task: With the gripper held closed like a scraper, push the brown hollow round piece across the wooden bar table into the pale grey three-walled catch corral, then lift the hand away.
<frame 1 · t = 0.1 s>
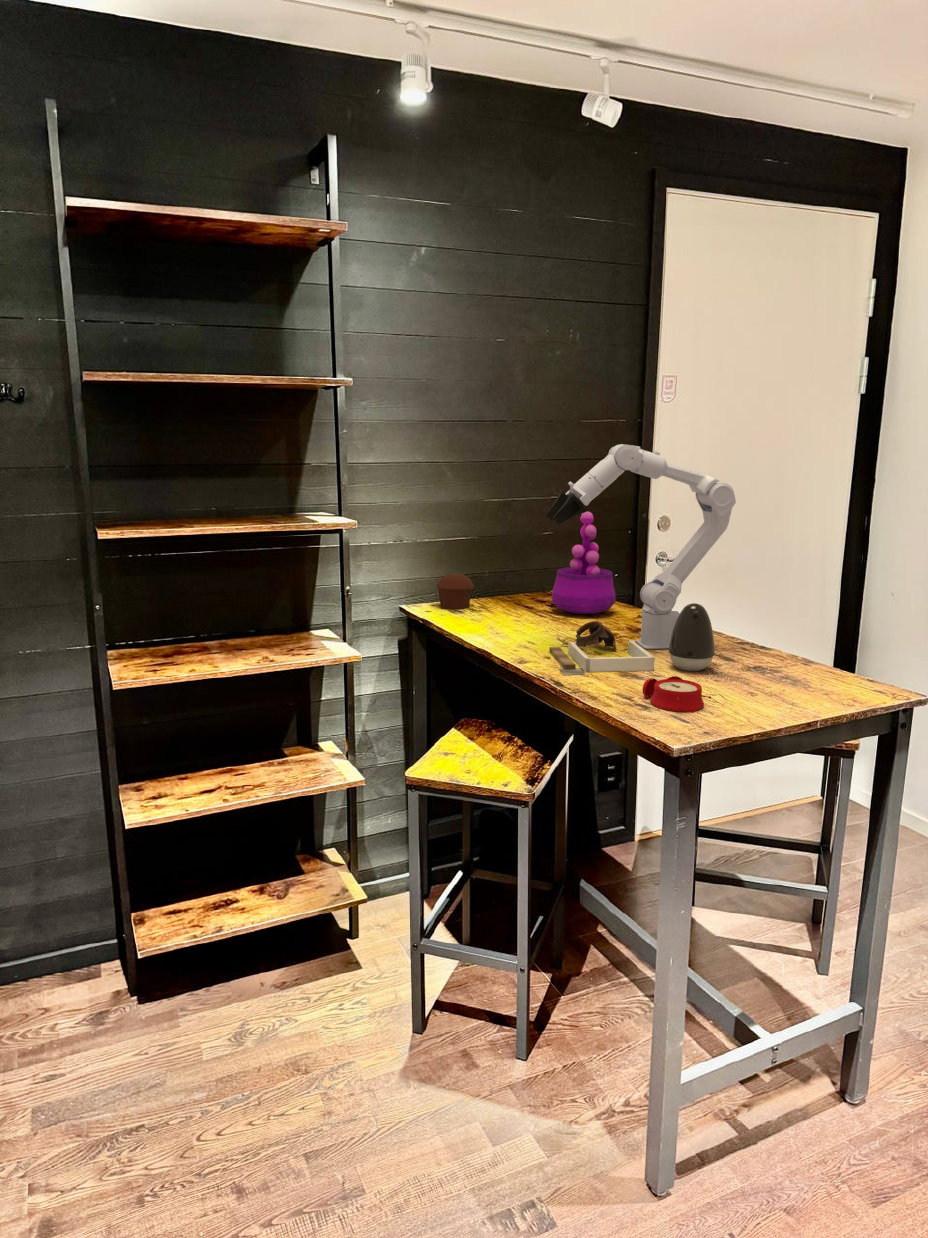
hand: (551, 519, 205), 32 cm above the table, tool tilted 50°, fingers open, 7 cm apart
alarm clock: (671, 703, 172), on the table
walnut scraper: (561, 661, 201), on the table
catch corral: (609, 661, 200), on the table
decorative plant: (582, 613, 253), on the table
black egg shaped dome: (690, 669, 196), on the table
muffin: (455, 607, 259), on the table
brown hollow round piece: (596, 650, 212), on the table
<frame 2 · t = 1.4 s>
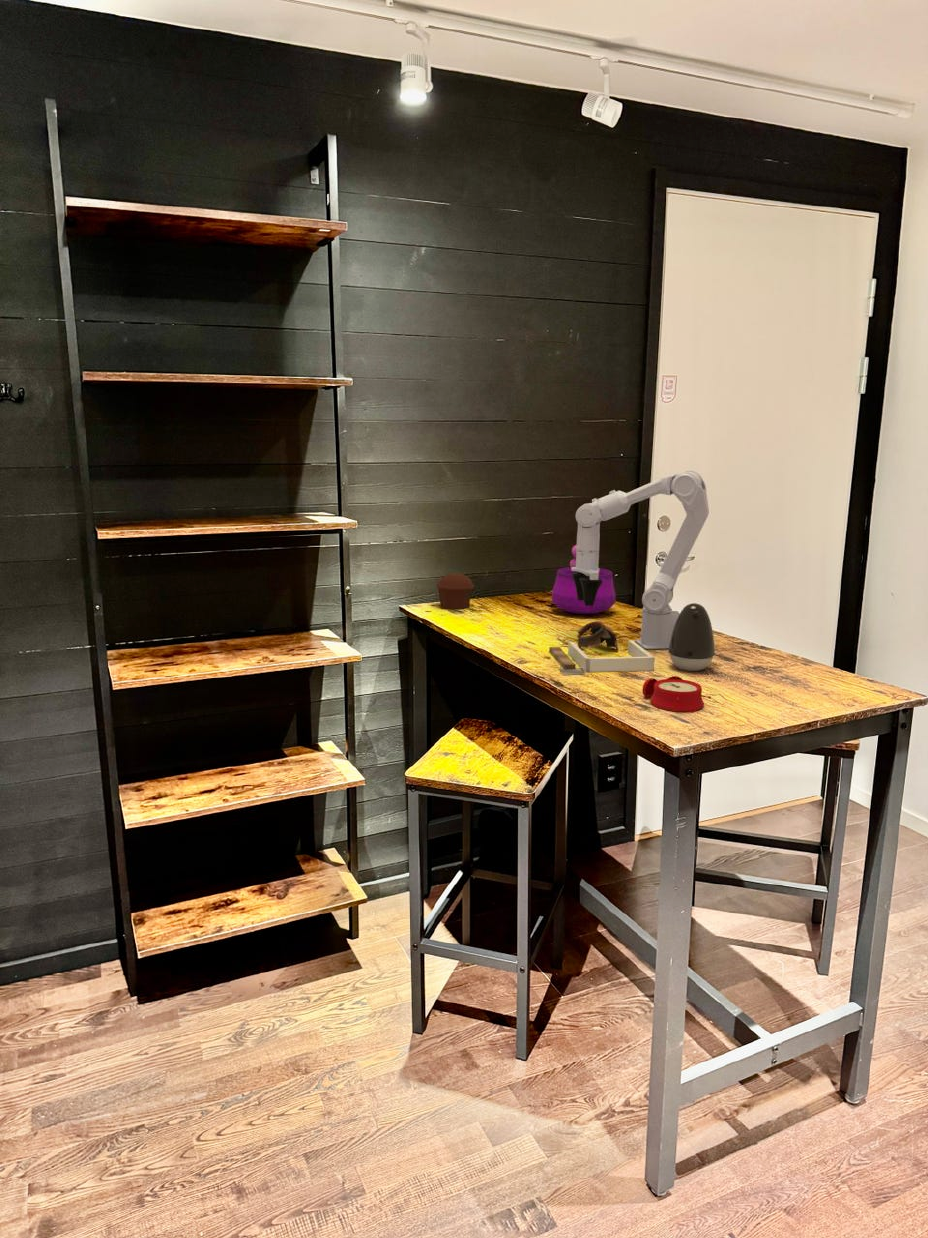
hand: (585, 602, 220), 9 cm above the table, tool pointing down, fingers open, 6 cm apart
nothing on the table moved.
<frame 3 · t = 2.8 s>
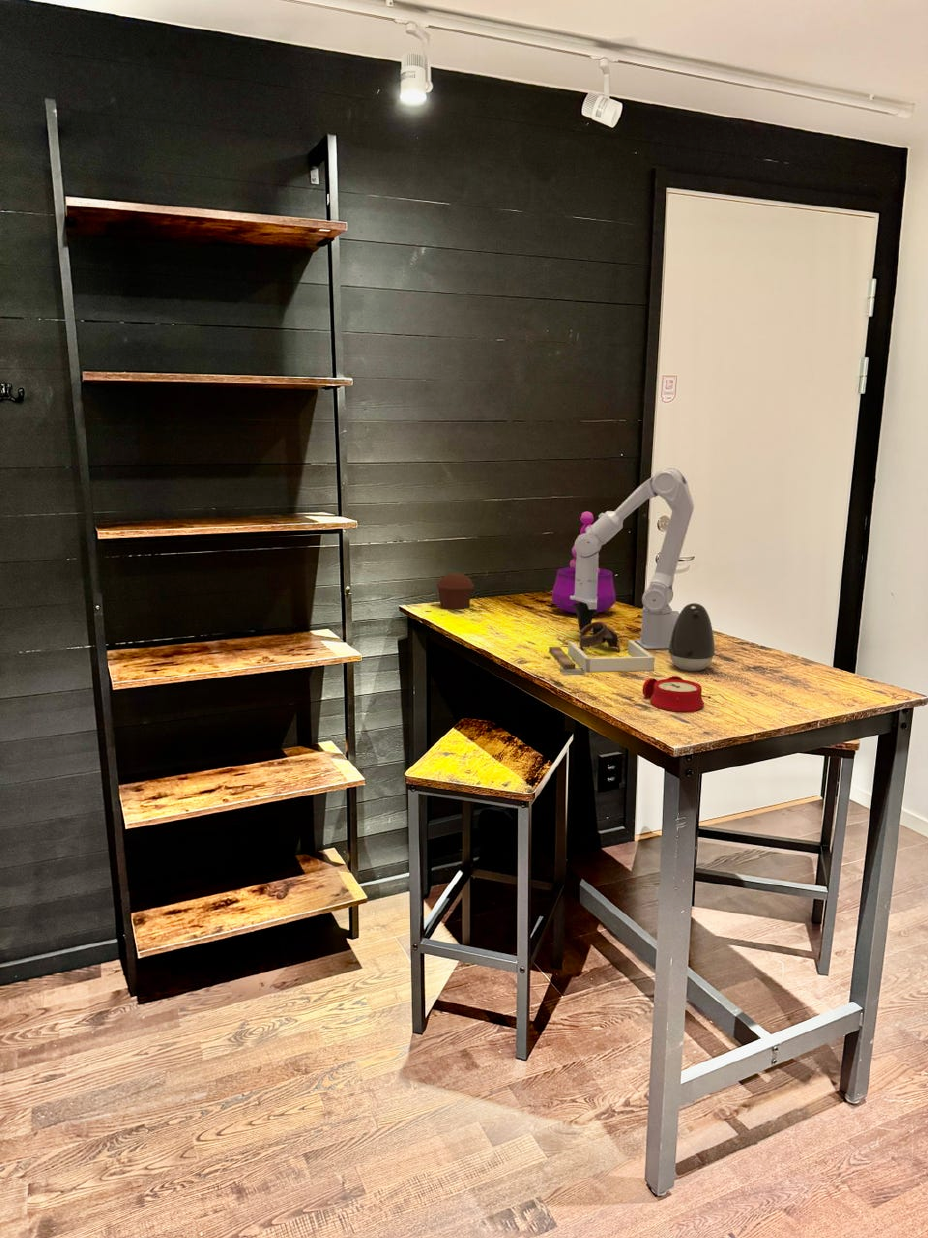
hand: (584, 631, 222), 2 cm above the table, tool pointing down, fingers closed
nothing on the table moved.
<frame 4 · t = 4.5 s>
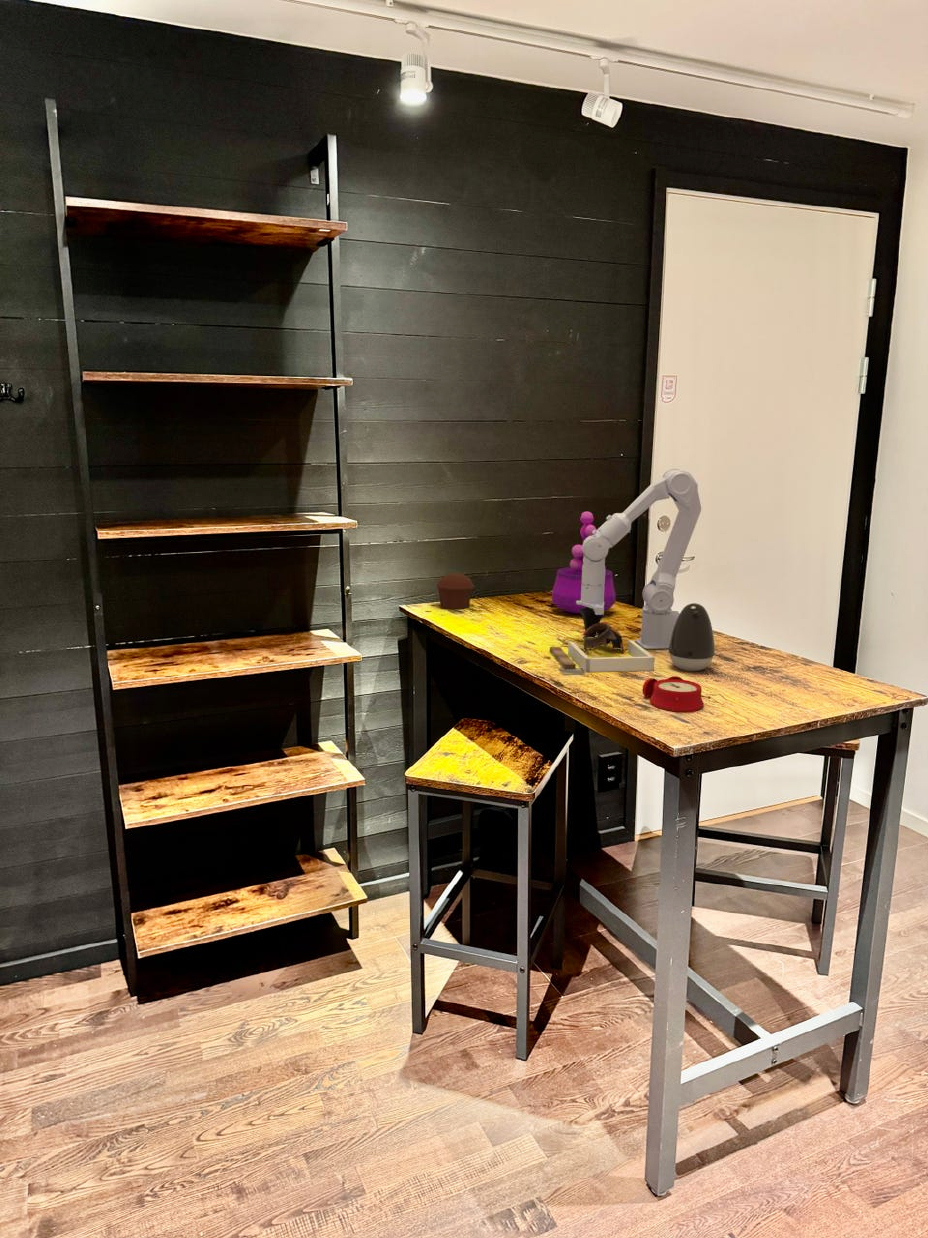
hand: (590, 636, 216), 2 cm above the table, tool pointing down, fingers closed
brown hollow round piece: (603, 651, 210), on the table, touching gripper
everything else where it was.
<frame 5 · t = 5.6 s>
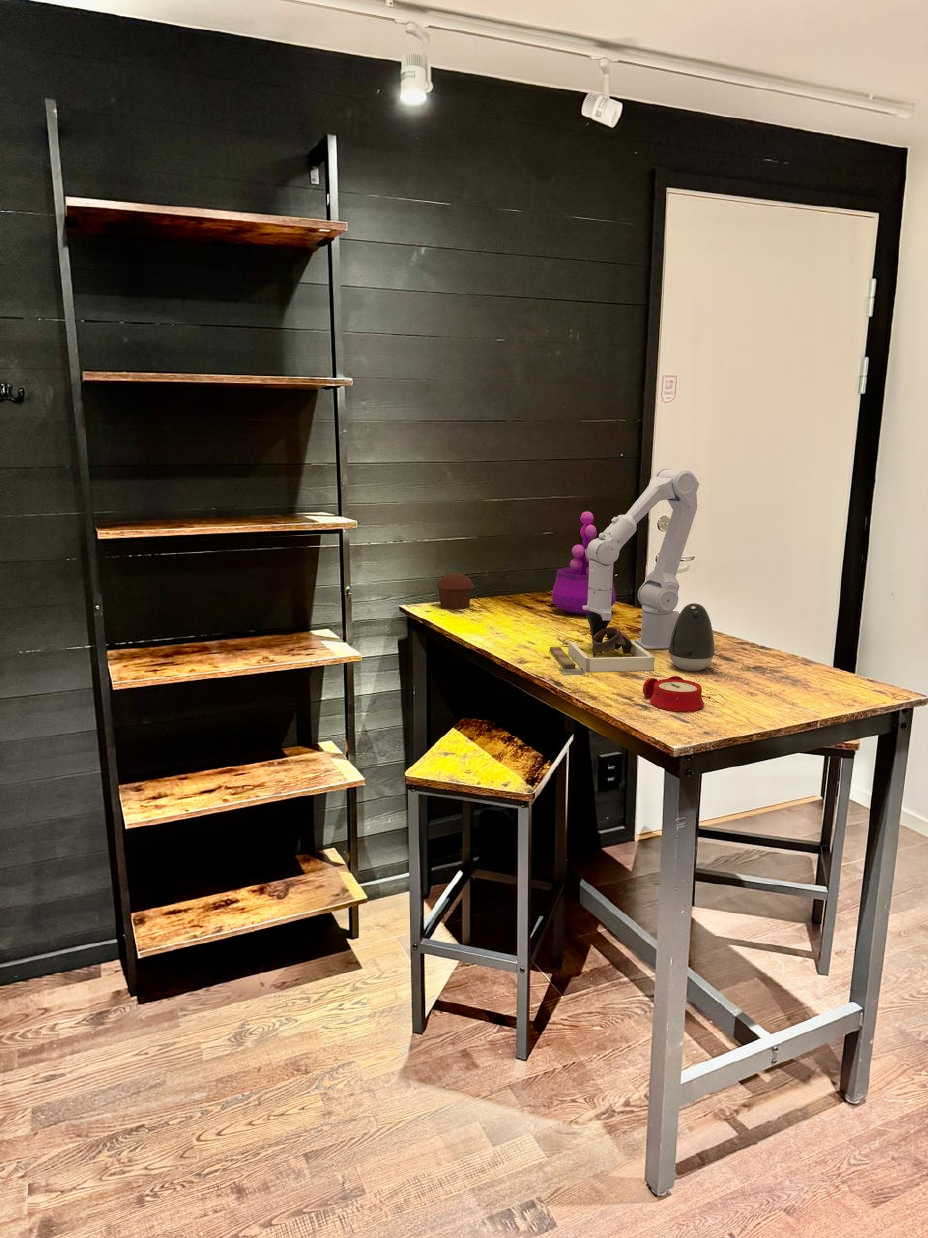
hand: (597, 642, 210), 2 cm above the table, tool pointing down, fingers closed
brown hollow round piece: (613, 656, 205), on the table, touching gripper
everything else where it was.
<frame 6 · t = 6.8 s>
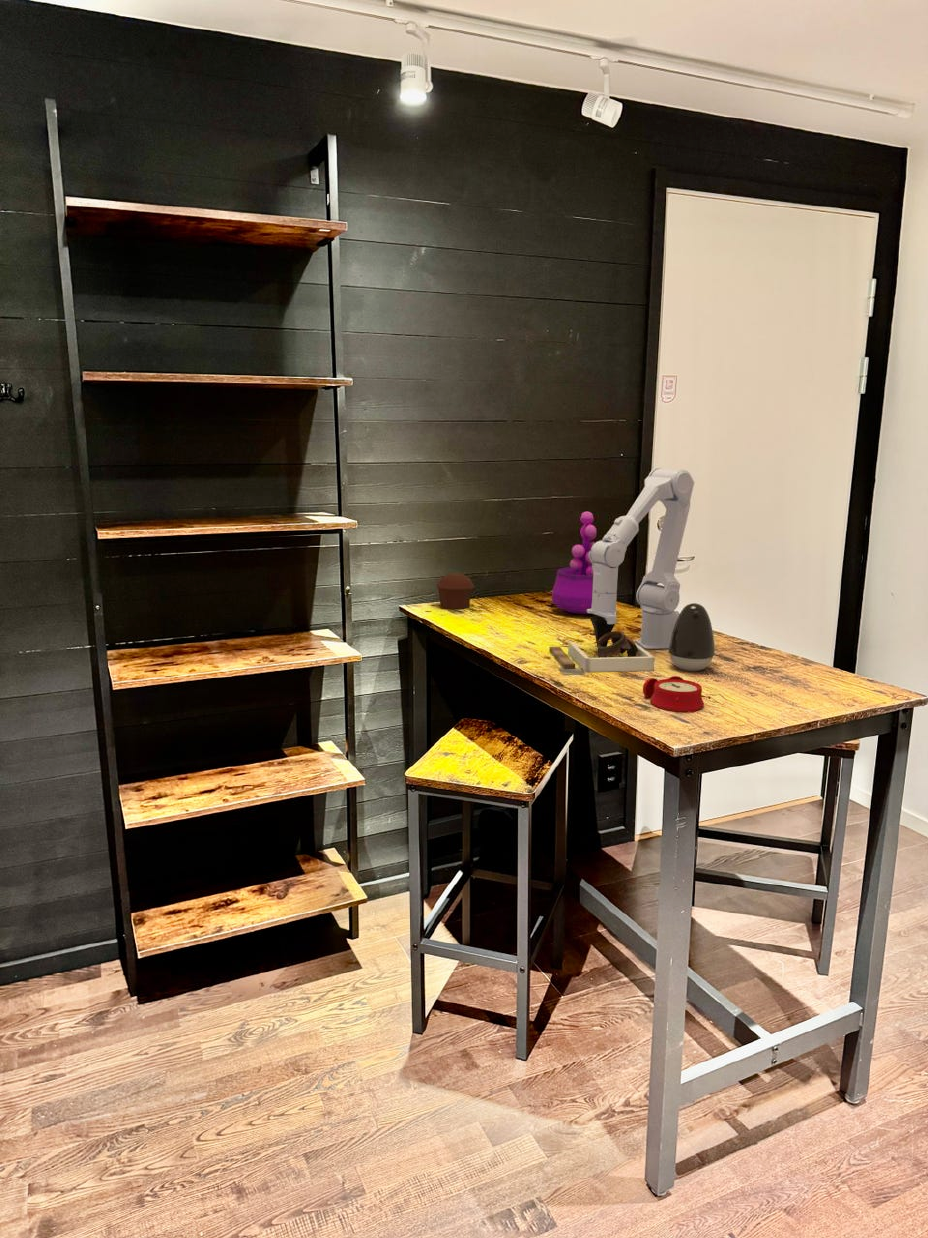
hand: (601, 646, 206), 2 cm above the table, tool pointing down, fingers closed
brown hollow round piece: (618, 661, 201), on the table, touching catch corral, gripper
everything else where it was.
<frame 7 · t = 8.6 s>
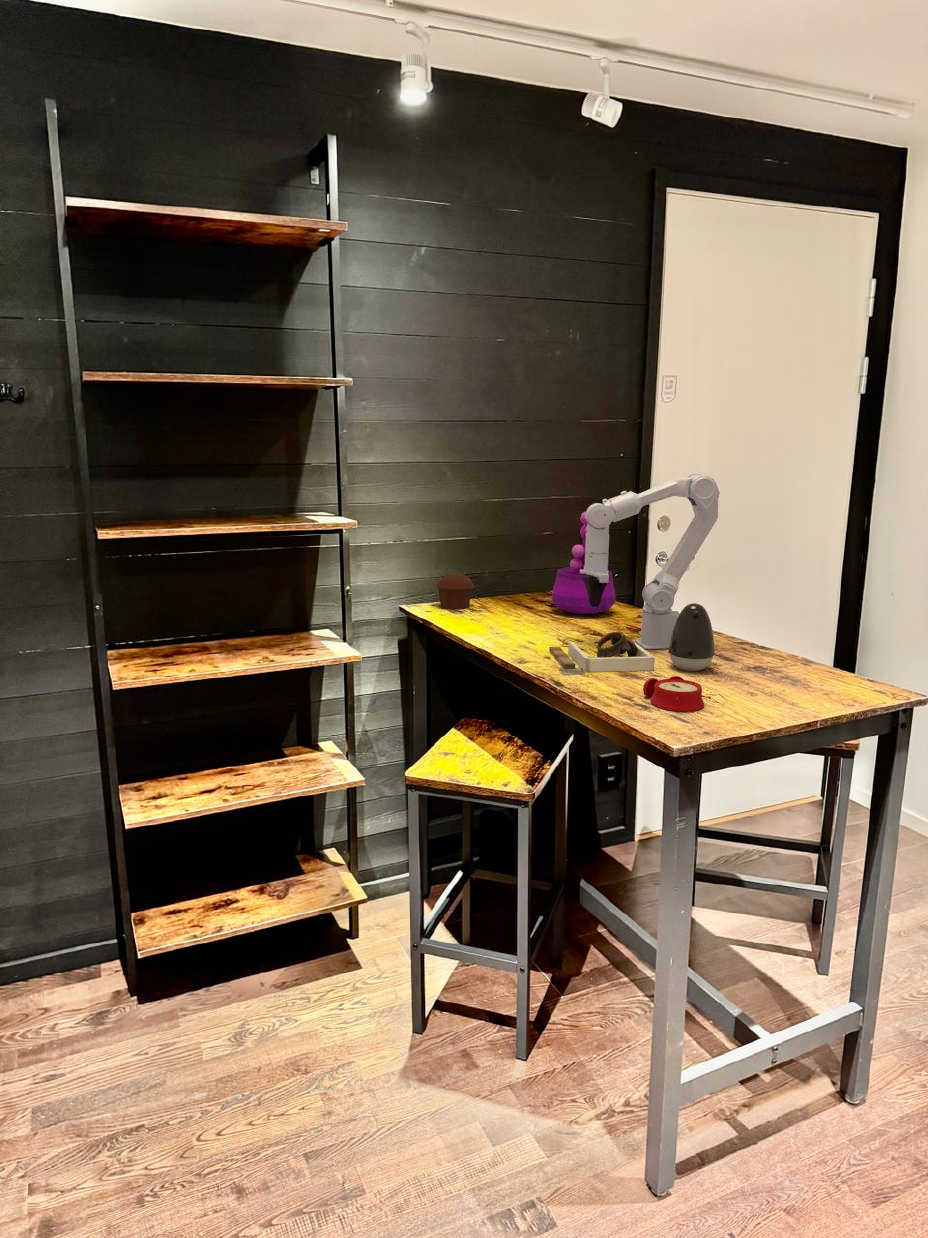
hand: (594, 606, 214), 10 cm above the table, tool pointing down, fingers closed
brown hollow round piece: (618, 662, 201), on the table
everything else where it was.
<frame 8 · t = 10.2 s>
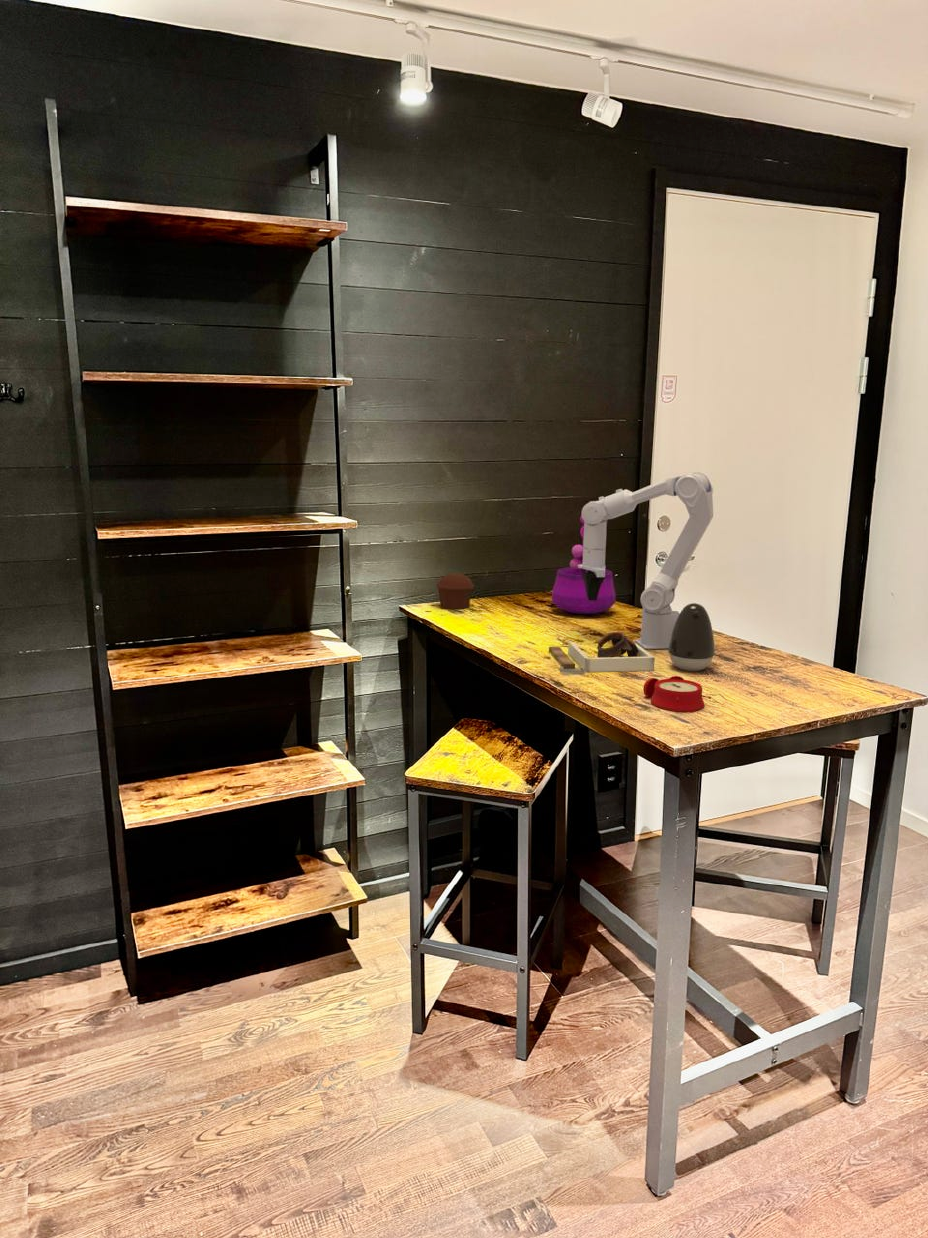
hand: (592, 600, 221), 10 cm above the table, tool pointing down, fingers closed
nothing on the table moved.
at the end: brown hollow round piece inside the target area (2.3 cm from its centre), on the table; brown hollow round piece tilted 1°; brown hollow round piece moved 11.9 cm from its start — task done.
